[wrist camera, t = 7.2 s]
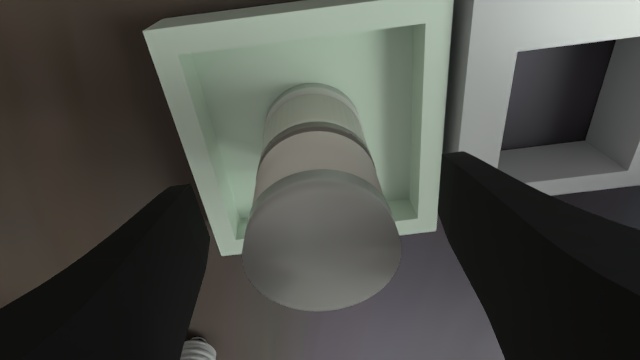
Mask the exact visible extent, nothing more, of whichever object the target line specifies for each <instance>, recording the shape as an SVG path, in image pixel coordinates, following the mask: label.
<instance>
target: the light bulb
mask: <svg viewBox="0 0 640 360" xmlns="http://www.w3.org/2000/svg"><path fill="white" fill-rule="evenodd" d="M215 357H216V351H215V349H214V348H213V347H212V346H211V345H210V344H208V343H206V340H205V339H204V338H201V337H193V338H192V339H191V340H188V341H185V342H184V346H183V350H182V354H181V358H180V360H216V359H215Z"/></svg>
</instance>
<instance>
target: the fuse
mask: <svg viewBox="0 0 640 360" xmlns="http://www.w3.org/2000/svg"><path fill="white" fill-rule="evenodd" d="M401 254H402V246H401V240H400V236H399V233H398V230H397V227H396V224H395V221H394V218H393V215H392V212H391V210H390V207H389V205H388V203H387V201H386V199H385V198H384V195H383V192H382V189H381V186H380V183H379V180H378V177H377V173H376V169H375V165H374V162H373V159H372V156H371V154H370V151H369V149H368V146H367V143H366V140H365V137H364V132H363V127H362V124H361V121H360V118H359V115H358V112H357V109H356V107H355V106H354V104H353V102H352V101H351V100H350V99H349V98H348V97H347V96H346V95H345V94H344V93H343V92H341V91H340V90H338V89H336V88H334V87H332V86H329V85H326V84H321V83H305V84H300V85H297V86H294V87H292V88H289V89H288V90H286V91H284V92H283V93H282V94H280V95H279V96H278V97H277V98H276V99H275V100H274V102H273V103H272V105H271V106H270V108H269V110H268V112H267V115H266V119H265V125H264V130H263V145H262V150H261V156H260V160H259V164H258V170H257V176H256V186H255V191H254V197H253V203H252V208H251V210H250V213H249V216H248V221H247V226H246V232H245V237H244V243H243V248H242V263H243V268H244V271H245V273H246V275H247V277H248V279H249V281H250V282H251V283H252V284H253V286H254V287H255V288H256V289H257V290H258V291H259V292H260V293H262V294H263V295H264V296H266V297H267V298H269V299H271V300H272V301H274V302H276V303H279V304H281V305H284V306H287V307H290V308H294V309H299V310H306V311H330V310H337V309H342V308H346V307H349V306H352V305H355V304H358V303H360V302H363V301H365V300H366V299H368V298H370V297H372V296H373V295H375V294H376V293H378V292H379V291H380V290H381V289H382V288H384V287H385V286H386V285H387V284H388V282H389V281H390V280H391V279H392V277H393V276H394V274H395V273H396V271H397V269H398V266H399V263H400V260H401Z"/></svg>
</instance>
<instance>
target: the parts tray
mask: <svg viewBox="0 0 640 360" xmlns="http://www.w3.org/2000/svg"><path fill="white" fill-rule="evenodd" d="M453 3H454V0H303V1H295V2H287V3H280V4H272V5H264V6H256V7H249V8H241V9H233V10H226V11H218V12H210V13H202V14H195V15H187V16H179V17H172V18H164V19H161V20H160V21H158V22H156V23H155V24H153V25H151V26H150V27H148V28H146V29H145V30H143V34H144V37H145V40H146V43H147V46H148V49H149V51H150V54H151V57H152V60H153V63H154V66H155V68H156V71H157V74H158V77H159V80H160V83H161V86H162V88H163V91H164V94H165V97H166V100H167V103H168V105H169V108H170V111H171V114H172V117H173V120H174V123H175V125H176V128H177V131H178V134H179V137H180V140H181V142H182V145H183V148H184V151H185V154H186V157H187V160H188V162H189V165H190V168H191V171H192V174H193V177H194V179H195V182H196V185H197V188H198V191H199V194H200V197H201V199H202V202H203V205H204V208H205V211H206V214H207V216H208V219H209V222H210V225H211V228H212V231H213V234H214V236H215V239H216V242H217V245H218V248H219V251H220V253H221V256H227V255H236V254H242V248H243V243H244V237H245V232H246V226H247V221H248V216H249V213H250V210H251V208H252V203H253V197H254V191H255V186H256V176H257V170H258V164H259V160H260V156H261V150H262V145H263V130H264V125H265V119H266V115H267V112H268V110H269V108H270V106H271V105H272V103H273V102H274V100H275V99H276V98H277V97H278V96H279V95H280V94H282V93H283V92H284V91H286V90H288V89H289V88H292V87H294V86H297V85H300V84H305V83H321V84H326V85H329V86H332V87H334V88H336V89H338V90H340V91H341V92H343V93H344V94H345V95H346V96H347V97H348V98H349V99H350V100H351V101H352V102H353V104H354V106H355V107H356V109H357V112H358V115H359V118H360V121H361V124H362V127H363V132H364V137H365V140H366V143H367V146H368V149H369V151H370V154H371V156H372V159H373V162H374V165H375V169H376V173H377V177H378V180H379V183H380V186H381V189H382V192H383V195H384V198H385V199H386V201H387V203H388V205H389V207H390V210H391V212H392V215H393V218H394V221H395V224H396V227H397V230H398V233H399V235H407V234H416V233H424V232H433V231H436V227H437V213H438V198H439V185H440V172H441V159H442V148H443V135H444V121H445V108H446V95H447V82H448V69H449V56H450V43H451V29H452V16H453Z"/></svg>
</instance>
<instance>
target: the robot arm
mask: <svg viewBox="0 0 640 360" xmlns="http://www.w3.org/2000/svg"><path fill="white" fill-rule="evenodd" d="M438 214H439V217H440V220H441V223H442V225H443V228H444V231H445V234H446V236H447V239H448V241H449V243H450V245H451V247H452V249H453V251H454V253H455V255H456V257H457V259H458V260H459V262H460V264H461V266H462V268H463V270H464V272H465V274H466V275H467V277H468V279H469V281H470V283H471V285H472V287H473V289H474V290H475V292H476V294H477V296H478V298H479V300H480V302H481V304H482V306H483V308H484V310H485V312H486V314H487V316H488V318H489V320H490V323H491V325H492V328H493V330H494V333H495V335H496V338H497V340H498V343H499V345H500V348H501V350H502V353H503V355H504V358H505V360H640V230H637V229H634V228H631V227H628V226H625V225H622V224H619V223H616V222H613V221H611V220H608V219H605V218H603V217H600V216H597V215H595V214H592V213H590V212H587V211H584V210H582V209H579V208H577V207H574V206H572V205H570V204H567V203H565V202H563V201H561V200H558V199H556V198H554V197H552V196H550V195H548V194H546V193H543V192H541V191H539V190H537V189H535V188H533V187H531V186H529V185H527V184H525V183H523V182H521V181H519V180H517V179H516V178H514V177H512V176H510V175H508V174H506V173H504V172H503V171H501V170H499V169H497V168H495V167H493V166H492V165H490V164H488V163H486V162H484V161H482V160H481V159H479V158H477V157H475V156H473V155H471V154H469V153H467V152H464V151H461V152H452V153H444V154H442V159H441V172H440V185H439V198H438ZM209 243H210V236H209V233H208V230H207V227H206V225H205V222H204V219H203V216H202V214H201V211H200V208H199V205H198V203H197V200H196V197H195V194H194V191H193V189H192V186H191V184H187V185H179V186H171V187H169V188H167V189H166V190H164V191H163V192H162V193H160V194H159V195H158V196H157V197H156V198H154V199H153V200H152V201H151V202H150V203H148V204H147V205H146V206H145V207H144V208H142V209H141V210H140V211H139V212H138V213H137V214H135V215H134V216H133V217H132V218H131V219H129V220H128V221H127V222H126V223H125V224H123V225H122V226H121V227H120V228H119V229H117V230H116V231H115V232H114V233H112V234H111V235H110V236H109V237H107V238H106V239H105V240H103V241H102V242H101V243H100V244H98V245H97V246H96V247H94V248H93V249H92V250H91V251H89V252H88V253H87V254H85V255H84V256H83V257H81V258H80V259H79V260H77V261H76V262H74V263H73V264H72V265H70V266H69V267H67V268H66V269H64V270H63V271H61V272H60V273H58V274H57V275H55V276H54V277H52V278H51V279H49V280H48V281H46V282H45V283H43V284H41V285H40V286H38V287H37V288H35V289H33V290H32V291H30V292H28V293H27V294H25V295H23V296H21V297H20V298H18V299H16V300H15V301H13V302H11V303H9V304H8V305H6V306H4V307H3V308H1V309H0V360H180V358H181V354H182V350H183V346H184V342H185V338H186V334H187V331H188V328H189V324H190V321H191V318H192V314H193V311H194V308H195V304H196V301H197V297H198V294H199V291H200V287H201V284H202V280H203V277H204V273H205V270H206V264H207V258H208V251H209Z"/></svg>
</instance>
